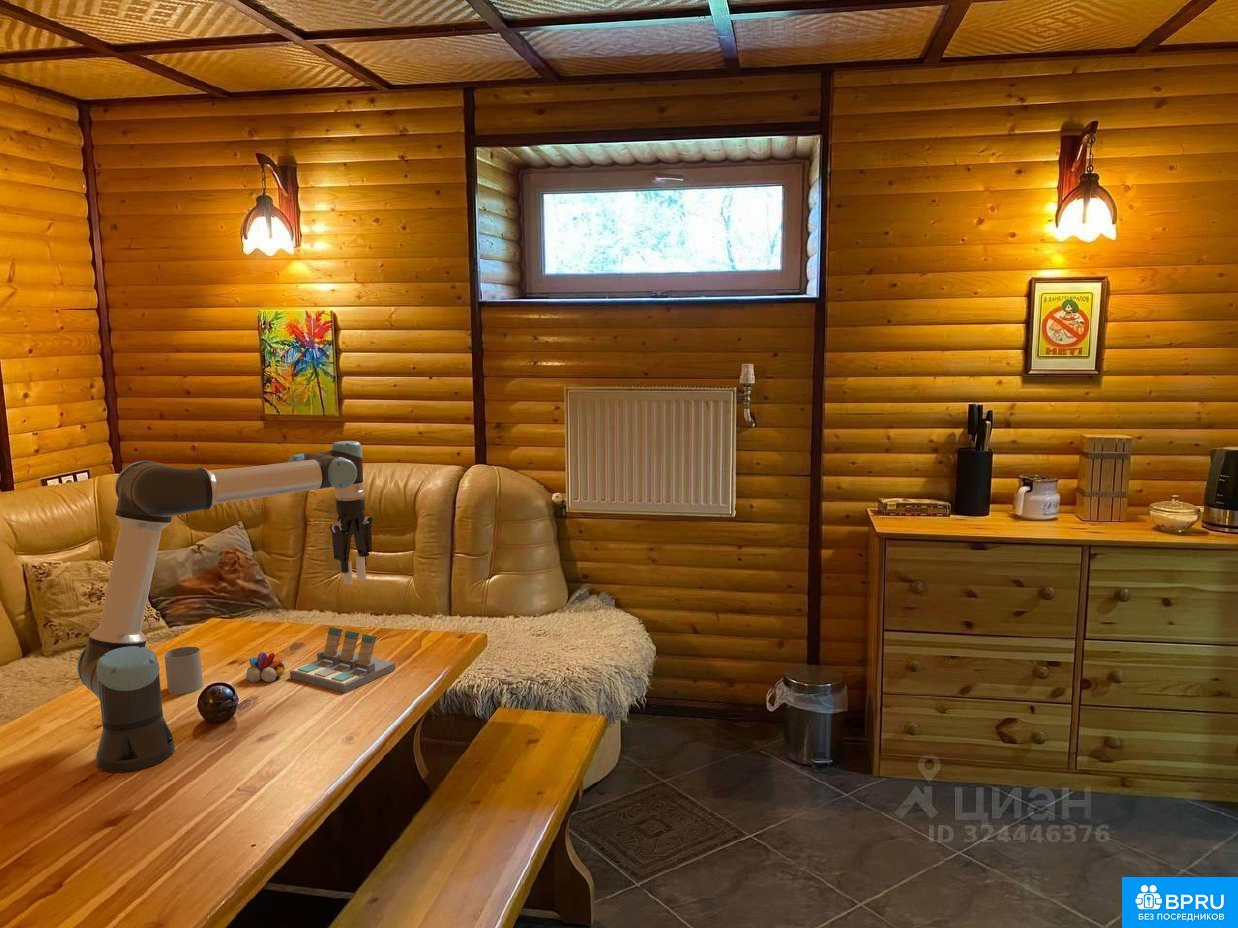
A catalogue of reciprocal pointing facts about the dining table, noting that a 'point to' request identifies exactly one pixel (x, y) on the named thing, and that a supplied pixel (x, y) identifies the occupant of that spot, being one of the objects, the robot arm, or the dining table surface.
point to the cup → (183, 670)
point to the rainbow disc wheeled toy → (264, 668)
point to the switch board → (341, 672)
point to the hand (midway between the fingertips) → (354, 581)
